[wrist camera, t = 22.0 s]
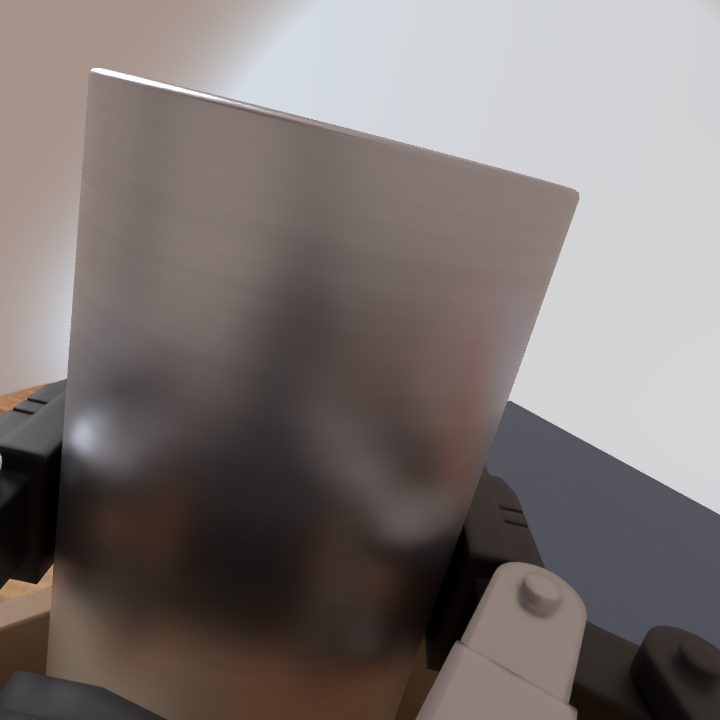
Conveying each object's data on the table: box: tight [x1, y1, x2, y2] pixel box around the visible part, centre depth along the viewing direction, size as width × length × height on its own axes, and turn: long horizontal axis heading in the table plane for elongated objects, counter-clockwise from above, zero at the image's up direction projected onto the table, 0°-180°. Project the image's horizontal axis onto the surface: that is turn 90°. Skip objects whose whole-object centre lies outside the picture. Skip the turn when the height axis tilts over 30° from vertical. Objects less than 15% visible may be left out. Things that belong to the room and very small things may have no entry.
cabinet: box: [424, 401, 720, 650], centre depth 21 cm, size 15×13×9 cm
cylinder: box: [46, 68, 579, 720], centre depth 10 cm, size 6×6×17 cm
